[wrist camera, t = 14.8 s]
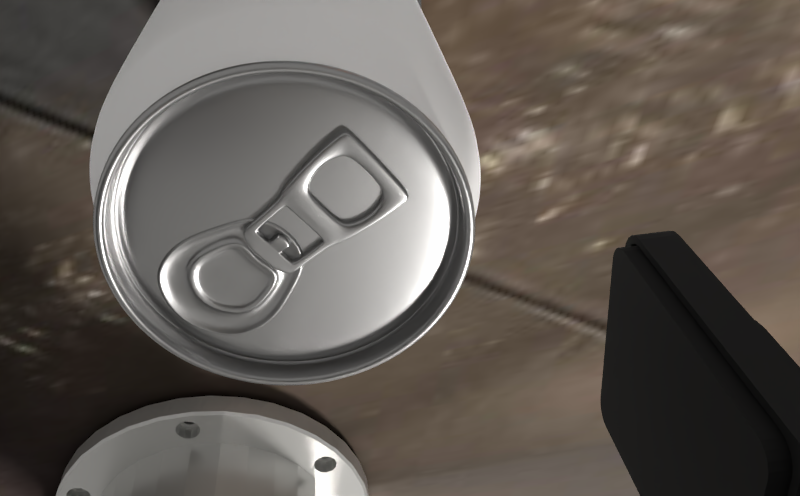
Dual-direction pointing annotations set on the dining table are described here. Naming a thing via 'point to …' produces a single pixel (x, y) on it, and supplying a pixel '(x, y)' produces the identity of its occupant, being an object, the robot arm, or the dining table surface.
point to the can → (285, 185)
